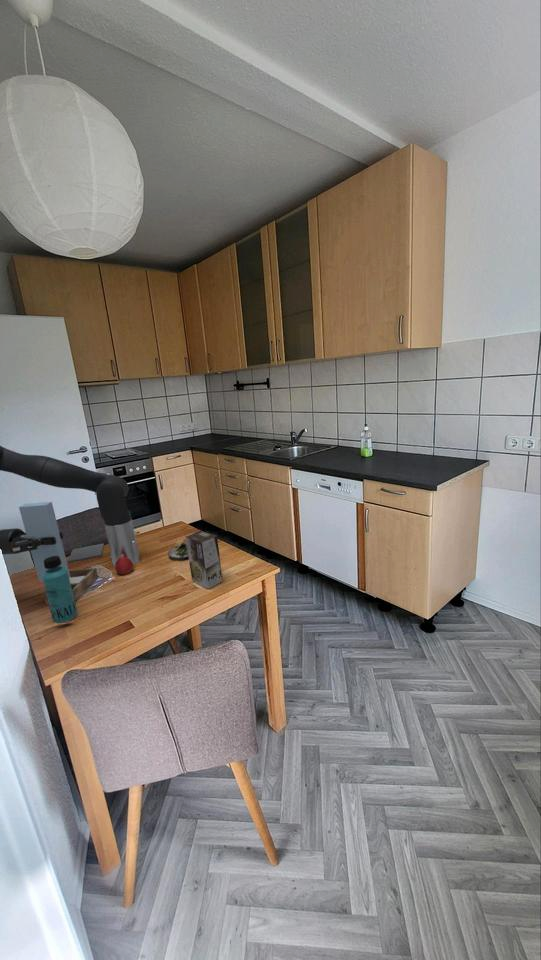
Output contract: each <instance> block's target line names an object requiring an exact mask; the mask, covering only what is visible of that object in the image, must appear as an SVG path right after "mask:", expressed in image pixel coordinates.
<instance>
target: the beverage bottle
mask: <svg viewBox="0 0 541 960" xmlns="http://www.w3.org/2000/svg"><path fill="white" fill-rule="evenodd" d="M59 565H61V560H60V557H59V556H52V557H49V558H46V559H45V560H44V567H45V568H46V569H48V570H46V571H45V573H44V574H43V576H42V578H43V581H42V582H43V585H44V590H45V593H46V594H47V598H48V602H49V605H48V607H49V611H50V613H51V619H52V621H53V622H54V623H55V624H65V623H67V622H70V621H72V620H74V619H75V617H77V615H78V609H77V604H76V603H77V602H75V600H74V596H73V595H74V594H73V592H72V588H71V584H70V580H69V578H70V575H68V570H67V569H66V568H64V567H62V566H59Z"/></svg>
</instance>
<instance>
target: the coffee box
mask: <svg viewBox="0 0 541 960" xmlns="http://www.w3.org/2000/svg"><path fill="white" fill-rule="evenodd" d="M184 538H185V544H186V545H187V551H188V557H187V558H188V563H189V570H190V574H191V582H193V583H195V584H197V585H199V586H201V587H203V588H206V589H207V588H208V589H207V590H209V588H210V589H211V588H214V587H215V586H217V585H218V583H219V584H220V582H221V583H223V581H224V580H223V573H222V564H221V556H220V550H219V549H220V548H219V540H218V535H216V534H212V533H209V532H206V531H203V530H198V531H195V532H192V533H191V534H189V535H186V536H185V537H184ZM216 584H217V585H216Z"/></svg>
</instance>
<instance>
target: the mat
mask: <svg viewBox="0 0 541 960" xmlns="http://www.w3.org/2000/svg"><path fill="white" fill-rule="evenodd" d="M104 545H105V544H104V543H97V544H93V545H88V546H87V545H86V546H83V547H77V548H73V549H72V550H71V553H70V555H69V556H68V557H69V558H68V559H67V564H68V563H74V562H79V561H83V560H89V559H94V558H97V557H98V558H99V557H102V556H103V551H104Z"/></svg>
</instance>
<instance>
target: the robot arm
mask: <svg viewBox="0 0 541 960" xmlns="http://www.w3.org/2000/svg"><path fill="white" fill-rule="evenodd" d="M1 471H2V472H6V473H12V474H15V475H16V476H17V475H18V476H20V477H23V478H25V479H27V480H31V481H35V482H38V483H40V484H45V485H48V486H51V487H55V488H62V489H72V490H73V489H74V490H75V489H77V490H78V489H79V490H84V491H85V490H86V491H90V492H93V493H95V495H96V496H95V497H96V501H97V506H98V509H99V514H100V516H101V518H102V520H103V523H104V528H105V532H106V537H107V541H108V546H109V552H110V556H111V560H112V561H111V562H112V566H113V567H114V568H115V564H116V561H117V560H118V559H119V558H120V557H121V555H123V554H124V556H125V557H128V558H129V559H131V561H132V563H133V565H134V564H138V563H140V553H139V548H138V543H137V536H136V534H135V529H134V523H133V518H132V513H131V511H130V510H129V509H128V506H127V502H126V501H127V500H126V496H128V493H129V490H130V489H129V488H130V487H129V484H128V482H127V481H126V480H125V479H124V478H122V477H120V476H117V475H113V474H109V473H103V472H100V471H99V472H98V471H93V470H90V469H87V468H84V467H81V466H78V465H76V464H73V463H69V462H67V461H63V460H60V459H56V458H54V457H50V456H45V455H39V454H38V455H37V454H24V453H20V452H16V451H14V450H10V449H8V448H6V447H3V446H2V445H0V472H1ZM59 533H60V537H61V540H62V539H64V533H63V531H59ZM56 543H57V541H56V538H55V537H44V538H35V537H34V536H31V537H27V535H26V532H24V531H23V530H22V529H21V528H16V527H15V528H4V529H3V528H1V529H0V549H1V550H2V554H3V555H16V554H20V553H25V552H31V550H35V549H37V547H42V546H43V545H55V544H56ZM31 545H32V546H31Z"/></svg>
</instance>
